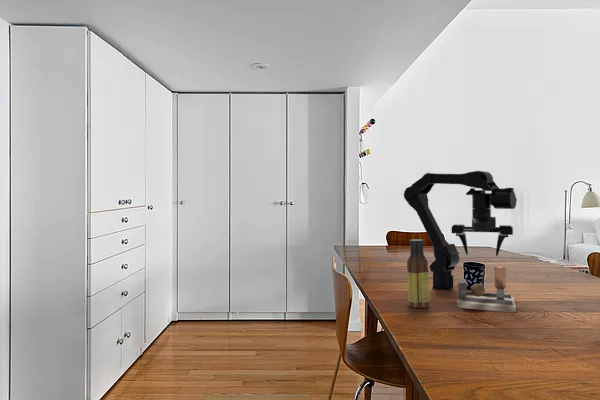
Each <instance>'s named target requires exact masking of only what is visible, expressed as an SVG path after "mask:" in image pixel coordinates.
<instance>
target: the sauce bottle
mask: <svg viewBox="0 0 600 400" xmlns="http://www.w3.org/2000/svg"><path fill="white" fill-rule="evenodd" d="M424 244H425V243H424V239H417V238H416V239H409V246H410V248H409V249H410V252H409V253H410V255H409V257H408V259H407V261H406V267H407V268H406V269H407V271H406V275H407V296H408V297H407V301H408V306H410V307H411V308H413V309H414V308H416V309H427V308H429V307H430V305H431V304H430V303H431V302H430V301H431V296H430V293H431V291H430V275H429V266H428V265H429V263H428V260H427V258H426V256H425V254H424V253H425V252H424Z"/></svg>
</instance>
